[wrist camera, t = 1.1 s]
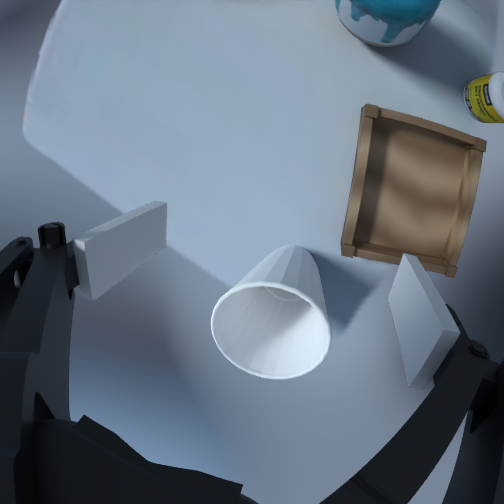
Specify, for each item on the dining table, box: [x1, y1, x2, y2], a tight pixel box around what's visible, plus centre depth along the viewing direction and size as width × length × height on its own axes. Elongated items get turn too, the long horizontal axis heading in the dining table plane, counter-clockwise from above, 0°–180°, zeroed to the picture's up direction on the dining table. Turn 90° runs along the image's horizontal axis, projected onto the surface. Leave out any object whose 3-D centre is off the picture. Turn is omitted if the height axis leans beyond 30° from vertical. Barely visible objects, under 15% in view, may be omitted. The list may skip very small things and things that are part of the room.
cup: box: [211, 245, 332, 379], centre depth 34 cm, size 12×12×16 cm
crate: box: [341, 104, 487, 278], centre depth 30 cm, size 18×16×5 cm
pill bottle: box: [463, 72, 504, 123], centre depth 20 cm, size 6×6×11 cm
